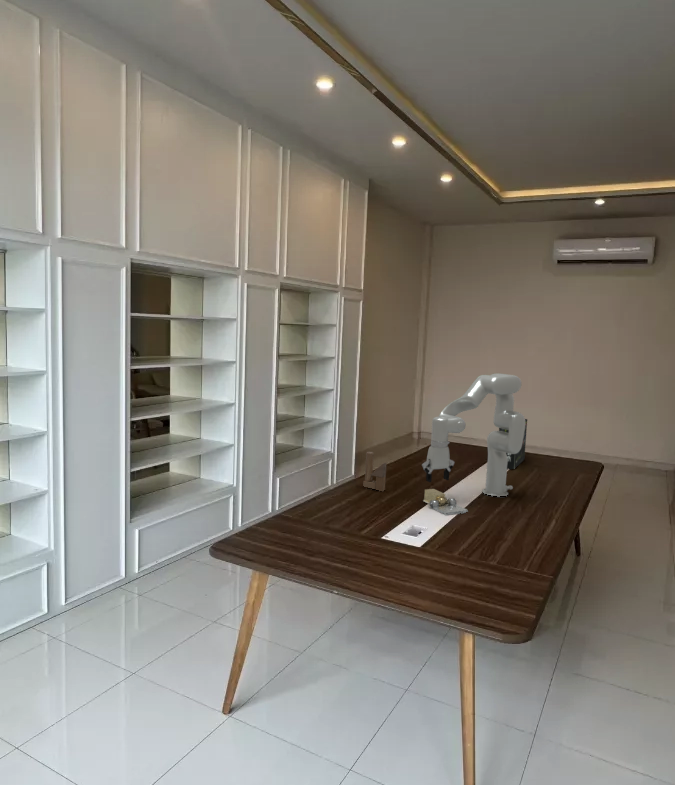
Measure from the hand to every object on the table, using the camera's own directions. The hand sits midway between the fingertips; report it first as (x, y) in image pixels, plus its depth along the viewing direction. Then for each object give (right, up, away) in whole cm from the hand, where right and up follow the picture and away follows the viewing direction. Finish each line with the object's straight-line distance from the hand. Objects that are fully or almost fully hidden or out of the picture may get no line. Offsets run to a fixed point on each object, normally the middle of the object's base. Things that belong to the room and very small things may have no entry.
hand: (437, 480), depth 265 cm
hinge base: (+3, -12, -8) cm, 15 cm away
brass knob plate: (-1, -10, +1) cm, 11 cm away
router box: (+61, -4, +92) cm, 111 cm away
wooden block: (-28, -8, +20) cm, 35 cm away
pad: (-1, -11, +1) cm, 11 cm away
